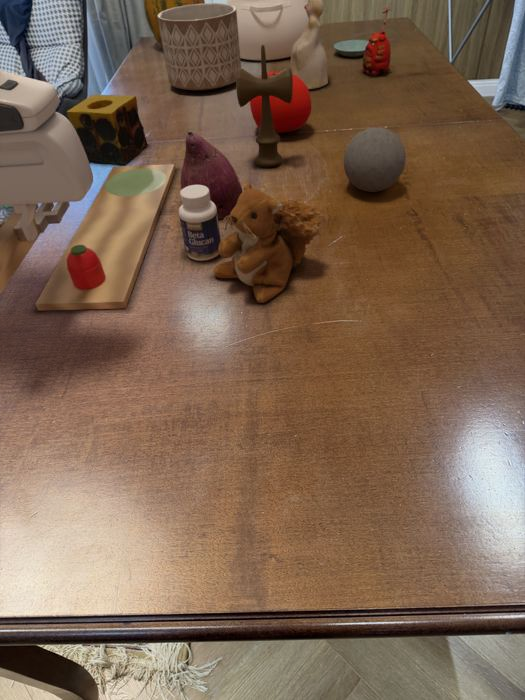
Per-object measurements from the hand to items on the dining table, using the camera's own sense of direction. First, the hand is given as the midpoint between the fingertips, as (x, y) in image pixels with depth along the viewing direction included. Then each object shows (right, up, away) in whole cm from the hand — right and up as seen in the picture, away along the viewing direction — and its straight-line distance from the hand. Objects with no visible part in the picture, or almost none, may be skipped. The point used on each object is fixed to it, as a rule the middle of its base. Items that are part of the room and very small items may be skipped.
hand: (15, 239), depth 54 cm
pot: (+29, +79, +100) cm, 131 cm away
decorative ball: (+46, +16, +32) cm, 58 cm away
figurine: (+38, +57, +75) cm, 102 cm away
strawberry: (+3, -2, +16) cm, 16 cm away
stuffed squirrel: (+28, -1, +16) cm, 32 cm away
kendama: (+28, +24, +42) cm, 56 cm away
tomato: (+30, +35, +54) cm, 71 cm away
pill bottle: (+18, +3, +21) cm, 28 cm away
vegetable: (+18, +12, +31) cm, 38 cm away
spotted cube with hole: (-4, +29, +50) cm, 58 cm away
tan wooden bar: (0, 0, +2) cm, 2 cm away
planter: (+12, +59, +80) cm, 100 cm away
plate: (+4, +18, +38) cm, 42 cm away
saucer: (+53, +74, +92) cm, 130 cm away
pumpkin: (0, +87, +110) cm, 141 cm away
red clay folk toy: (+57, +61, +79) cm, 115 cm away
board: (+3, +8, +28) cm, 29 cm away
